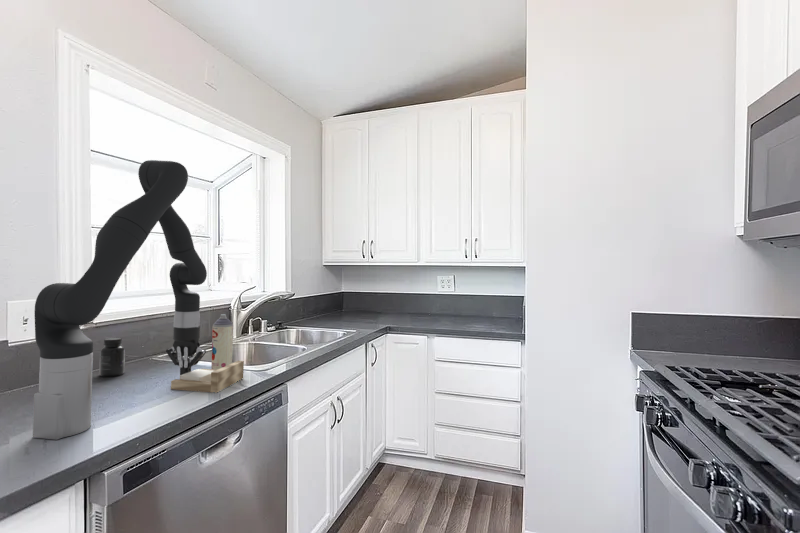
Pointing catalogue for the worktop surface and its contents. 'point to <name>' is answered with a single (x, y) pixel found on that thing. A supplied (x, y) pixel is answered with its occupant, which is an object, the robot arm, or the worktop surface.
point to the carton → (197, 375)
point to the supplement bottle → (112, 358)
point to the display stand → (213, 379)
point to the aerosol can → (222, 342)
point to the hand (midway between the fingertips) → (185, 378)
